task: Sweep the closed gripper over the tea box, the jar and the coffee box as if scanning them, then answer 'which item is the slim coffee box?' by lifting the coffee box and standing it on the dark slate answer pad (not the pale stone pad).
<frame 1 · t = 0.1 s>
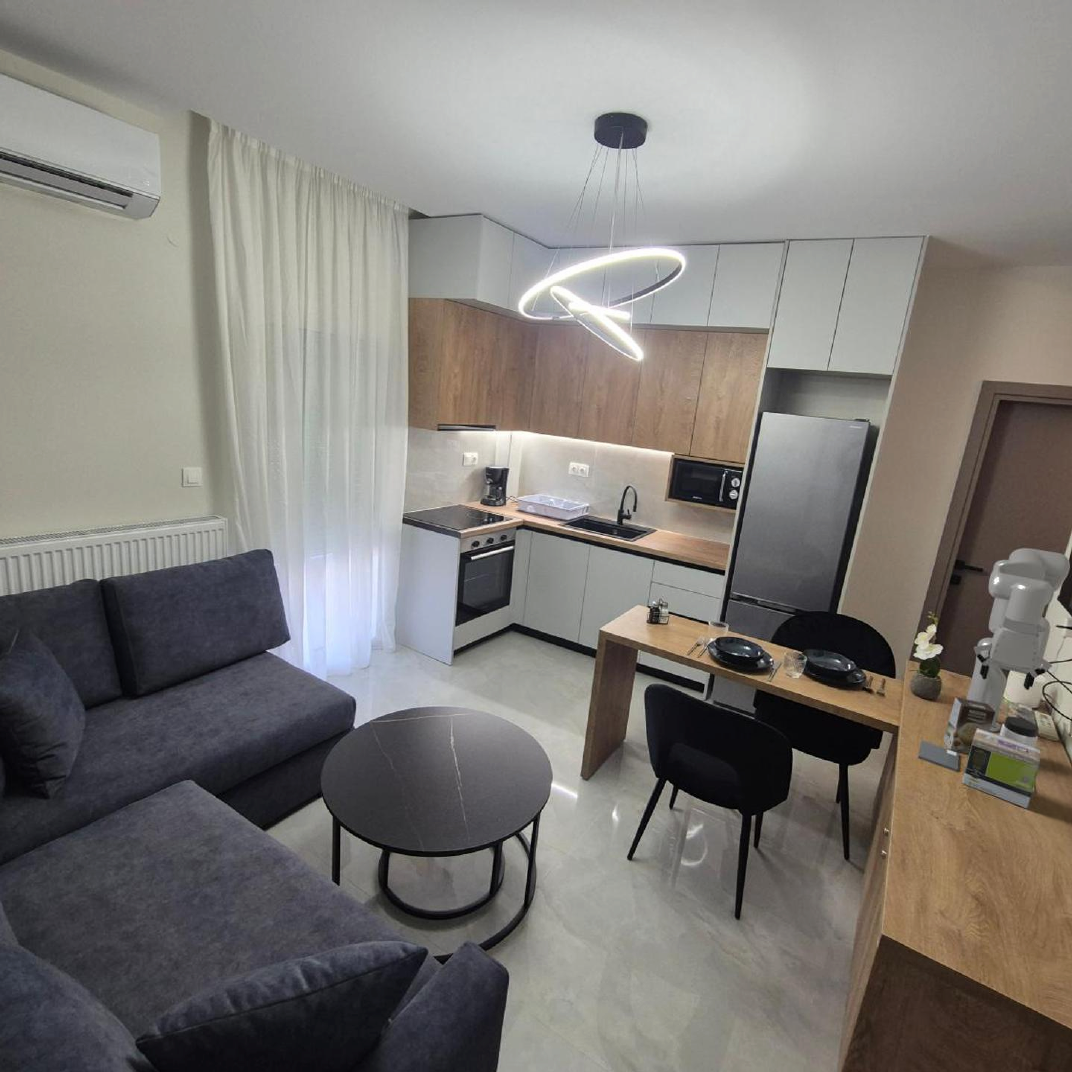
hand: (1004, 682, 163), 31 cm above the worktop, fingers open, 9 cm apart
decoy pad: (1014, 779, 171), on the worktop
tea box: (994, 789, 165), on the worktop
jar: (1012, 757, 184), on the worktop
answer pad: (938, 756, 180), on the worktop
coffee box: (962, 749, 186), on the worktop
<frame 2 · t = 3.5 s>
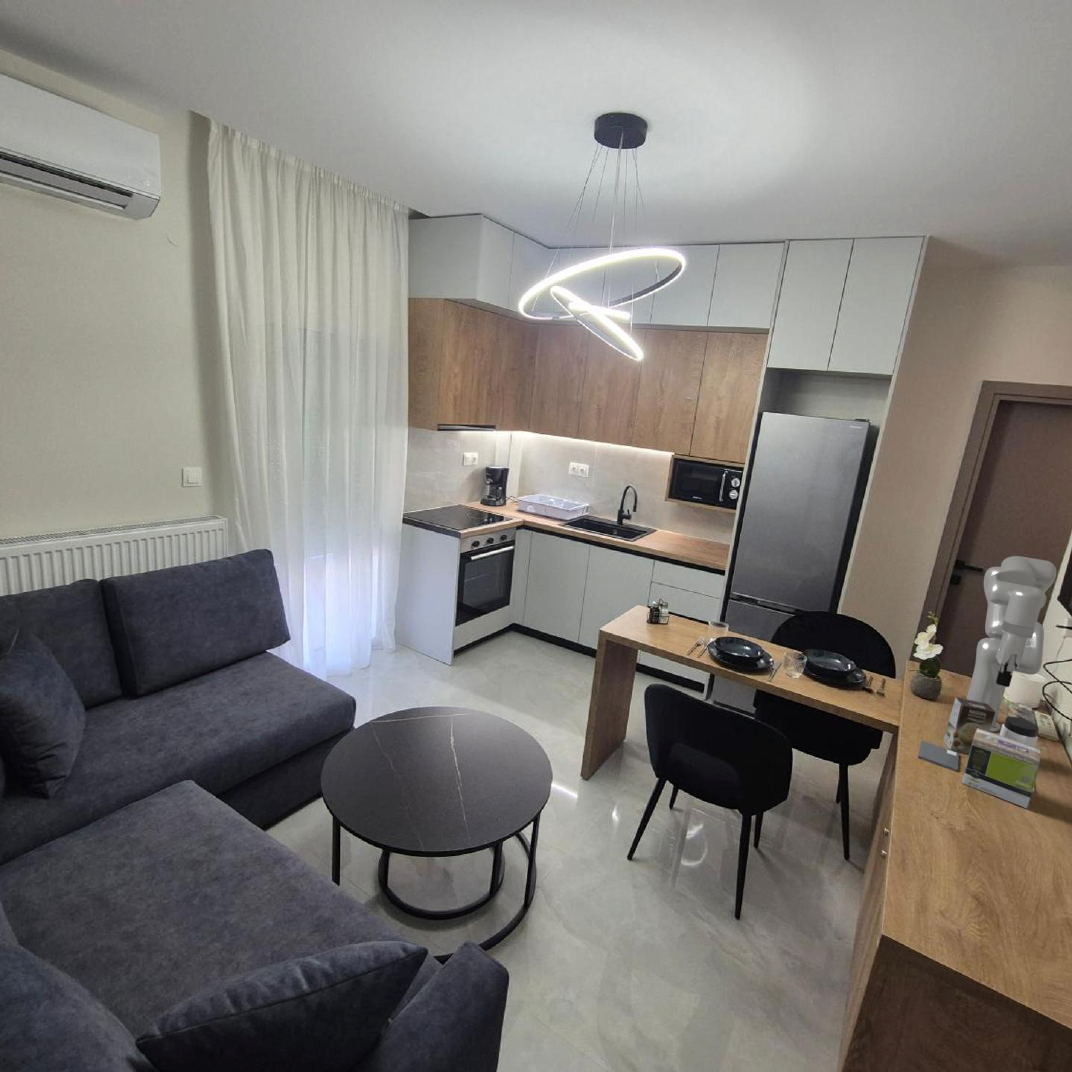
hand: (1002, 684, 178), 24 cm above the worktop, fingers closed
nothing on the worktop moved.
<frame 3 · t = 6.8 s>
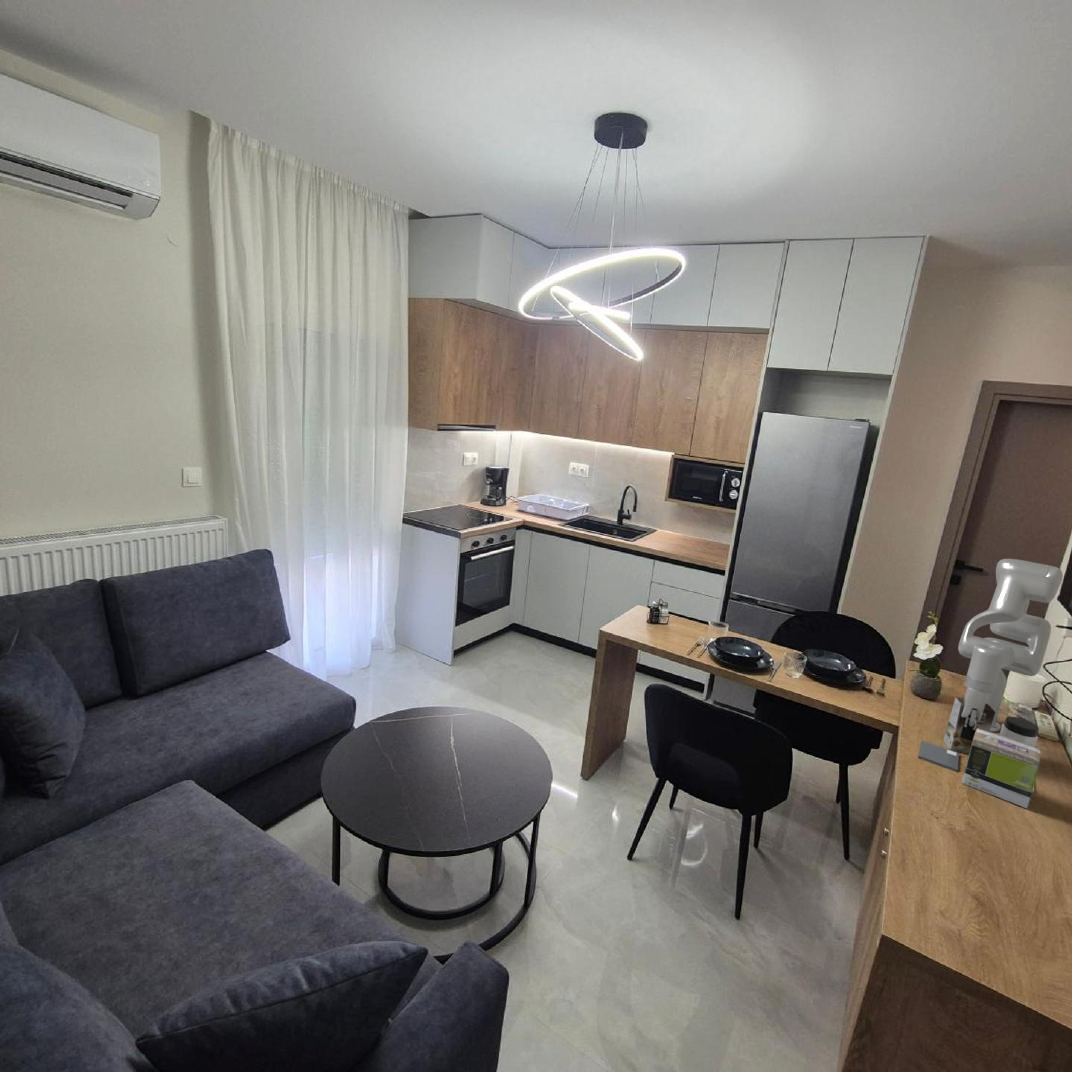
hand: (966, 733, 184), 5 cm above the worktop, fingers closed on coffee box, 7 cm apart
coffee box: (962, 749, 186), on the worktop, touching gripper
everything else where it was.
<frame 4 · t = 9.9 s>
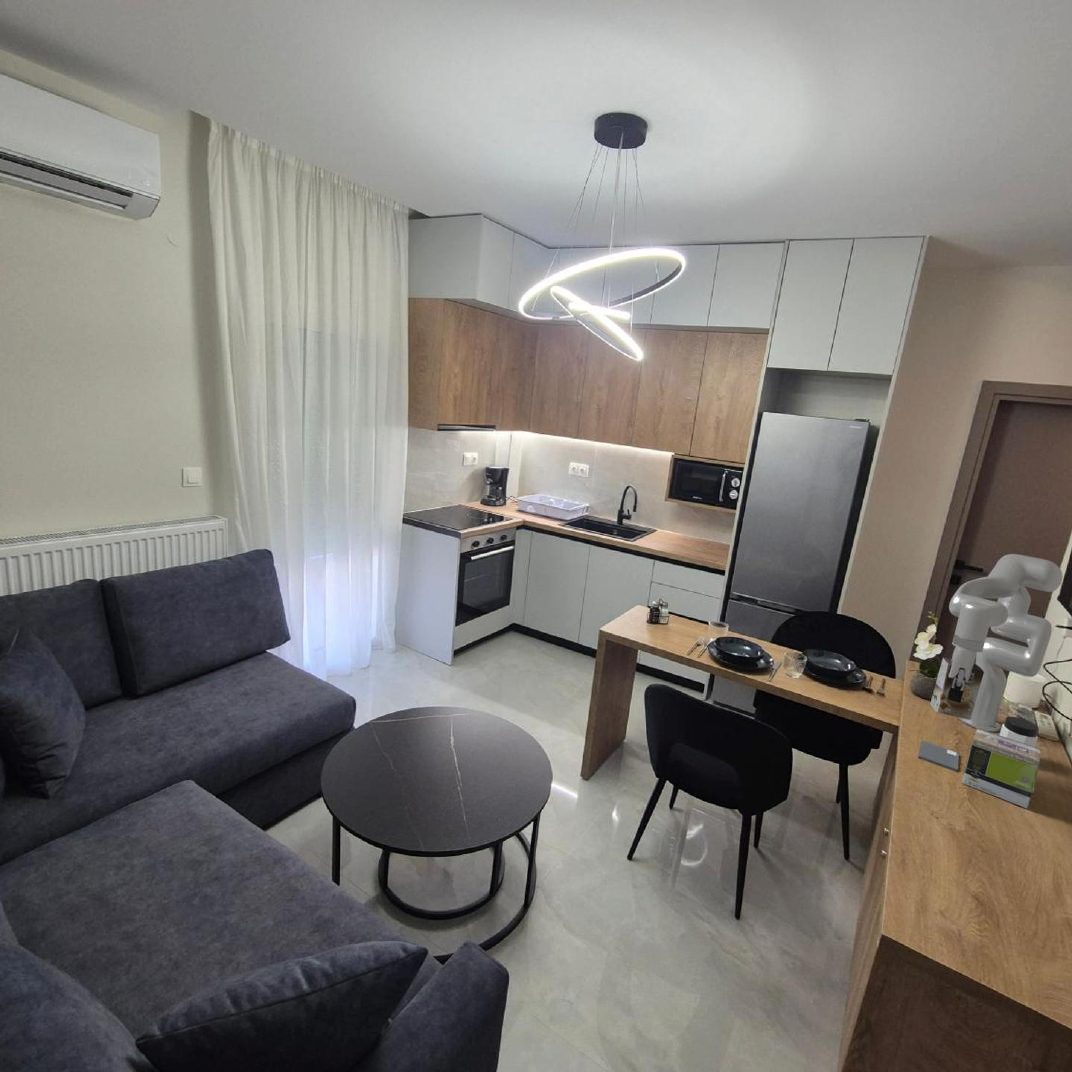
hand: (954, 695, 175), 21 cm above the worktop, fingers closed on coffee box, 7 cm apart
coffee box: (949, 712, 177), point 15 cm above the worktop, touching gripper
everything else where it was.
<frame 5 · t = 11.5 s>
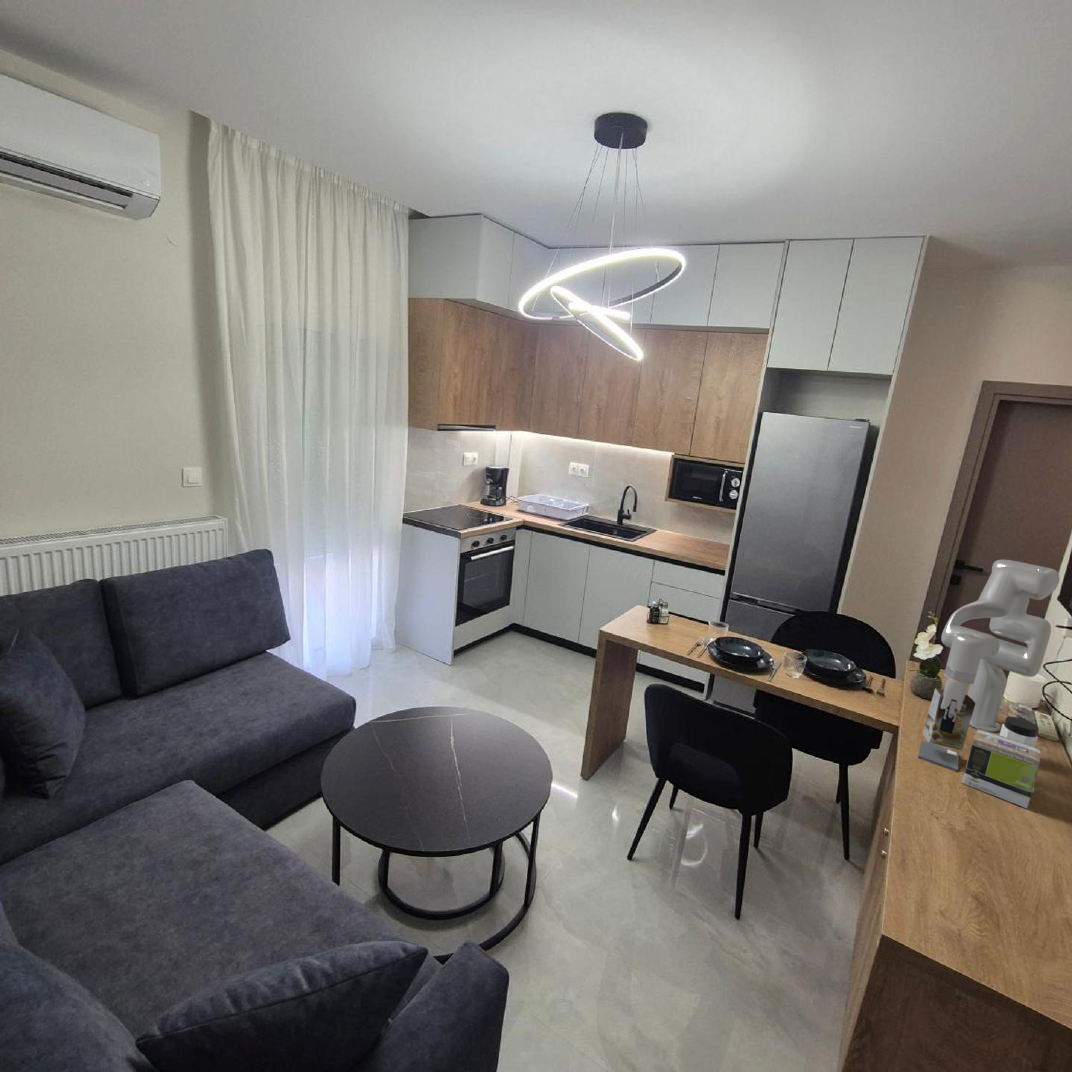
hand: (946, 726, 177), 11 cm above the worktop, fingers closed on coffee box, 7 cm apart
coffee box: (941, 742, 179), point 5 cm above the worktop, touching gripper
everything else where it was.
when the fingers open (7 cm above the worktop, at t = 12.9 s): coffee box stays where it is, resting on answer pad.
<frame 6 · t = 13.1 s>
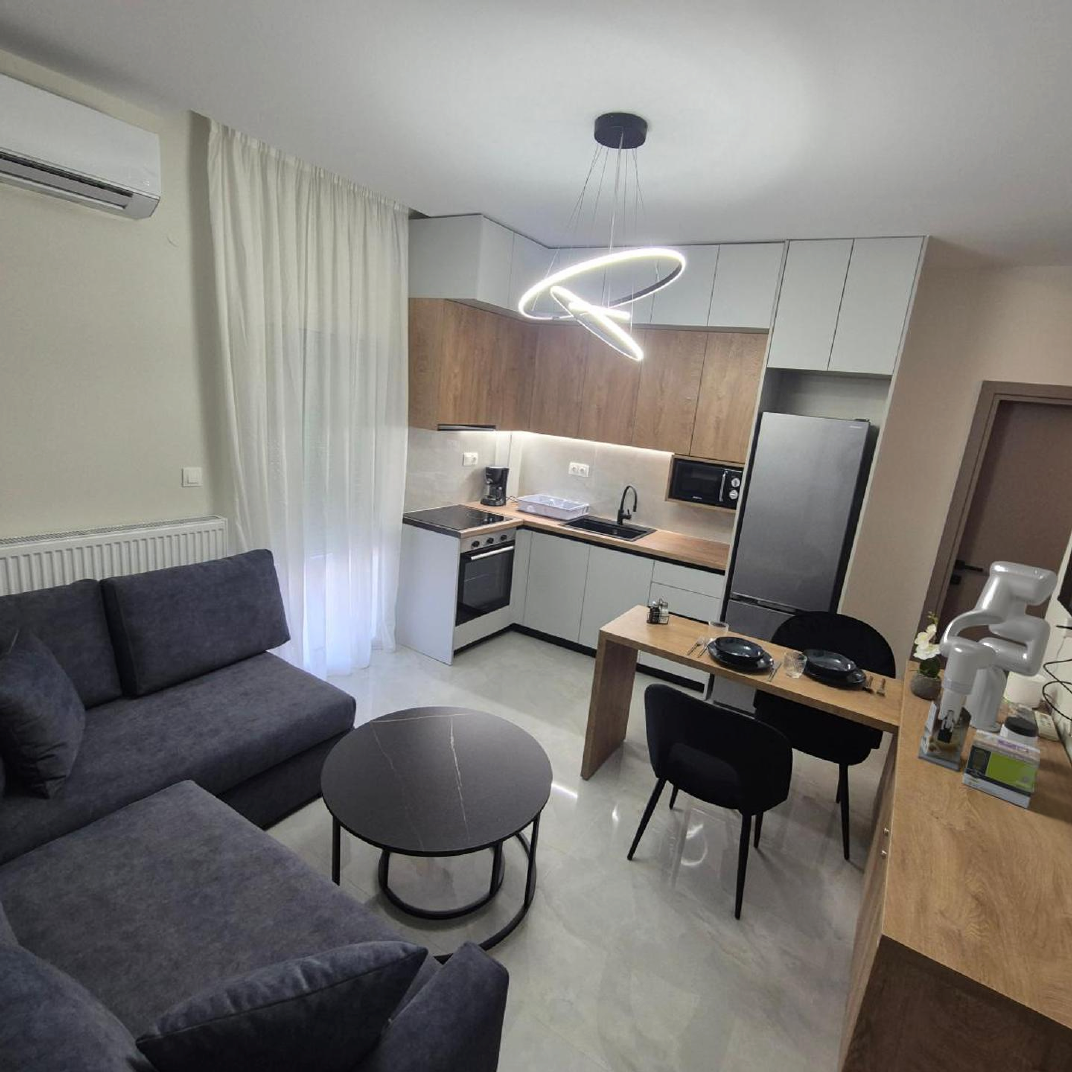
hand: (944, 735, 178), 7 cm above the worktop, fingers open, 9 cm apart
coffee box: (939, 754, 180), point 1 cm above the worktop, touching answer pad
everything else where it was.
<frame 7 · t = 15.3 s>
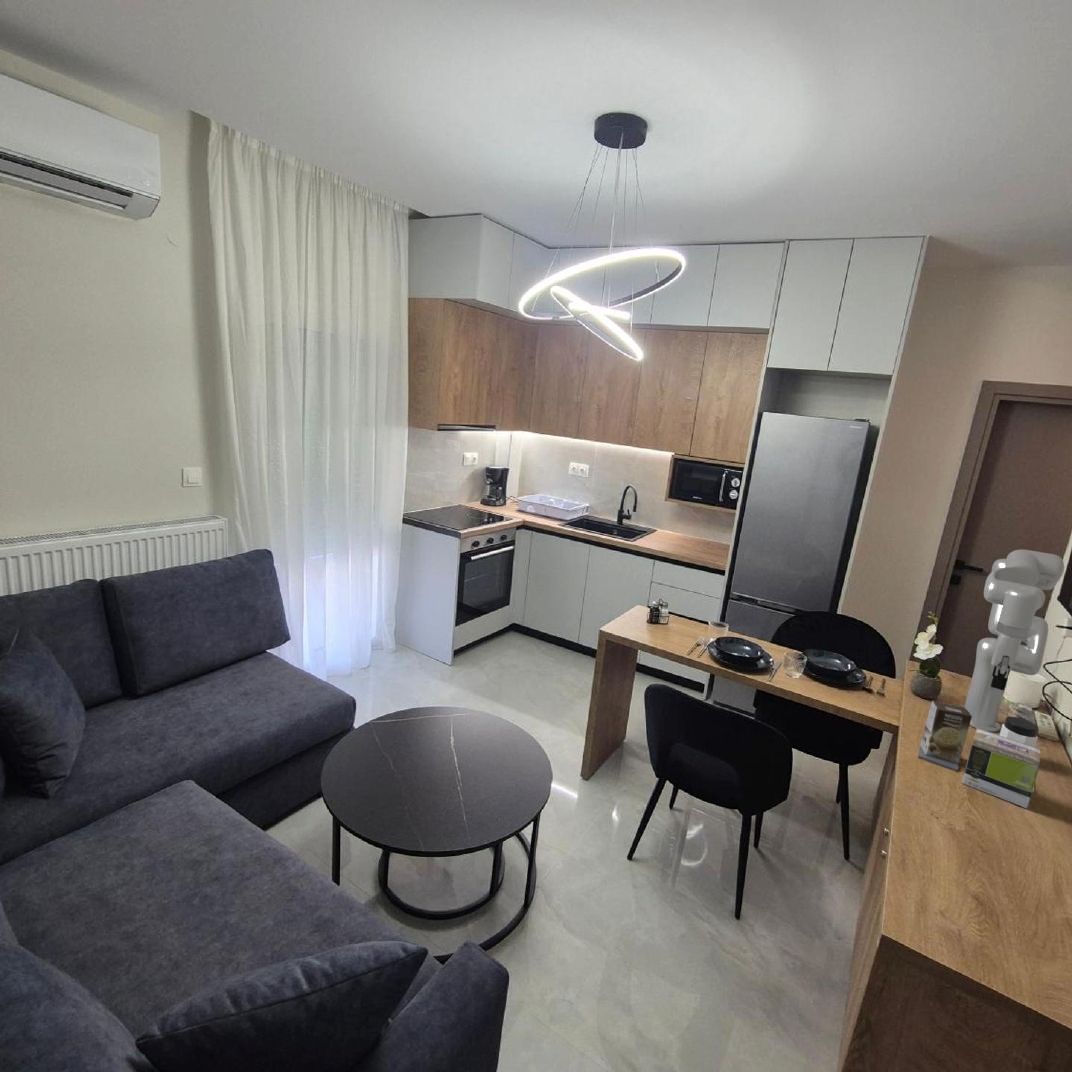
hand: (997, 682, 173), 27 cm above the worktop, fingers open, 9 cm apart
nothing on the worktop moved.
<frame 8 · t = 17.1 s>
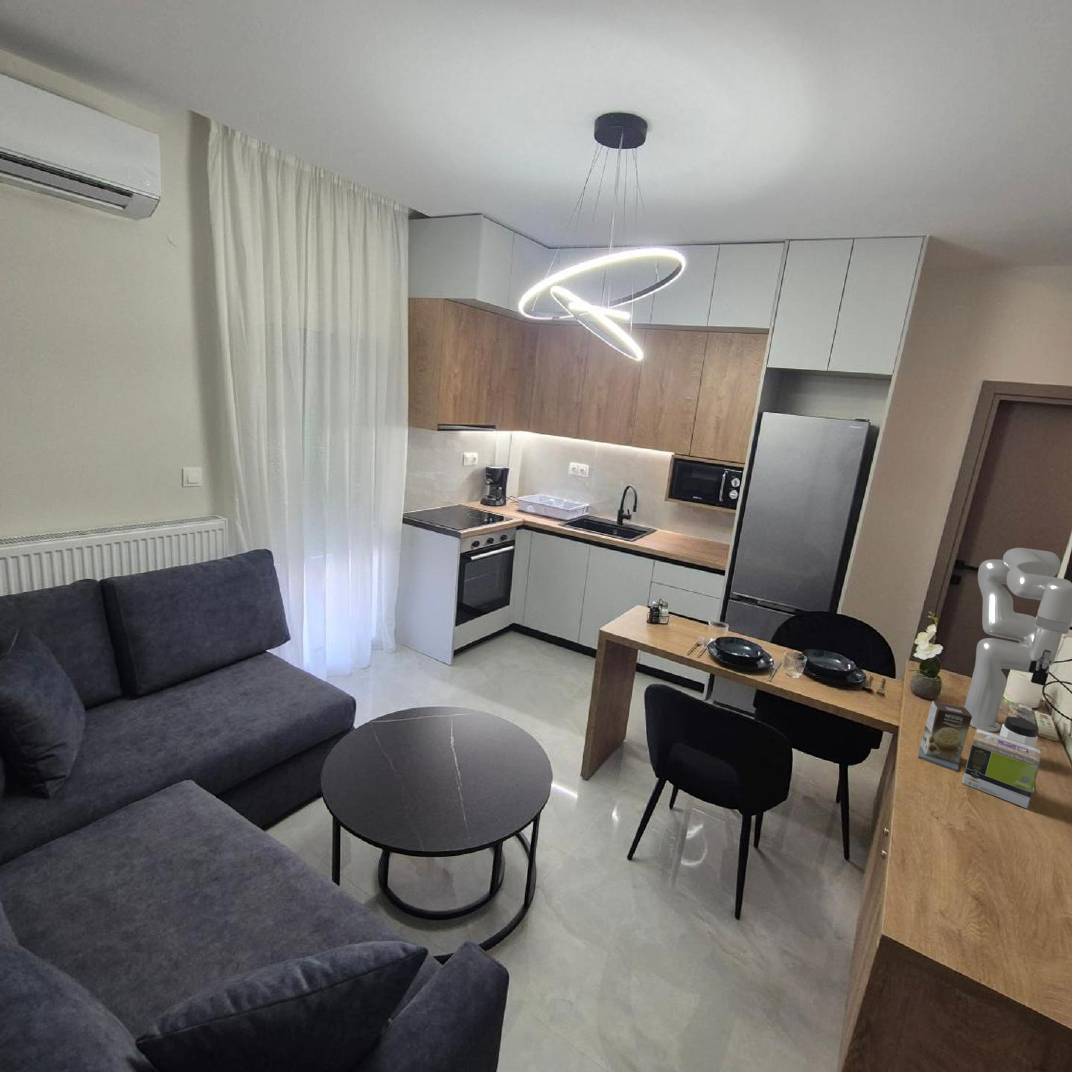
hand: (1036, 678, 170), 30 cm above the worktop, fingers open, 9 cm apart
nothing on the worktop moved.
at the end: coffee box inside the target area on the answer pad (0.2 cm from its centre), point 0.7 cm above the answer pad's base; coffee box tilted 1°; the gripper is holding nothing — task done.
